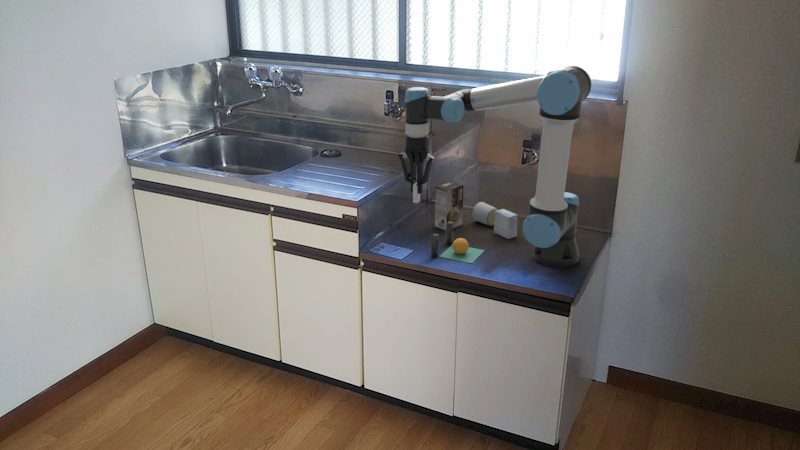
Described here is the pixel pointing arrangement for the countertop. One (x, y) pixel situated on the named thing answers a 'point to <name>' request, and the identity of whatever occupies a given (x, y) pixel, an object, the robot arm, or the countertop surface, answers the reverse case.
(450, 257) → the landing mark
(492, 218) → the white cylinder
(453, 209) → the coffee box
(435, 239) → the post
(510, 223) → the medicine box
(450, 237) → the post
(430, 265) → the countertop surface
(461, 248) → the ball
